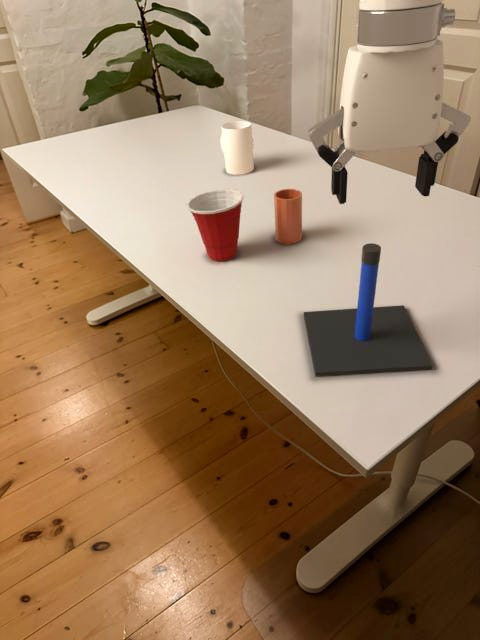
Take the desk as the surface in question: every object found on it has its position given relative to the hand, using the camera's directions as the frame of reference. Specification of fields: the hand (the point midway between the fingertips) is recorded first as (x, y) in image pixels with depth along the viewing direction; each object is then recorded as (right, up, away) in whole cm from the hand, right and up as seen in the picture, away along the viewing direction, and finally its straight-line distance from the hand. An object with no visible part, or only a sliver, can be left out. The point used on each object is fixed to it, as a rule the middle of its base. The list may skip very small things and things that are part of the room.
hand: (381, 195), depth 55 cm
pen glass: (-7, +2, +41) cm, 42 cm away
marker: (+1, -17, +13) cm, 22 cm away
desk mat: (+1, -18, +14) cm, 23 cm away
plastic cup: (-21, -2, +38) cm, 43 cm away
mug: (-18, +28, +76) cm, 83 cm away
